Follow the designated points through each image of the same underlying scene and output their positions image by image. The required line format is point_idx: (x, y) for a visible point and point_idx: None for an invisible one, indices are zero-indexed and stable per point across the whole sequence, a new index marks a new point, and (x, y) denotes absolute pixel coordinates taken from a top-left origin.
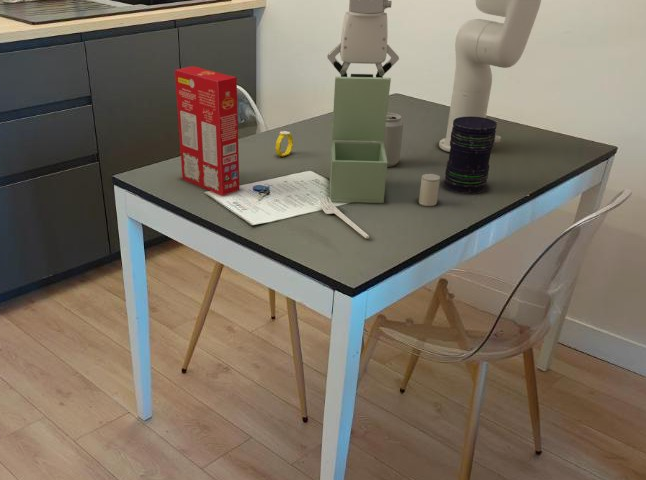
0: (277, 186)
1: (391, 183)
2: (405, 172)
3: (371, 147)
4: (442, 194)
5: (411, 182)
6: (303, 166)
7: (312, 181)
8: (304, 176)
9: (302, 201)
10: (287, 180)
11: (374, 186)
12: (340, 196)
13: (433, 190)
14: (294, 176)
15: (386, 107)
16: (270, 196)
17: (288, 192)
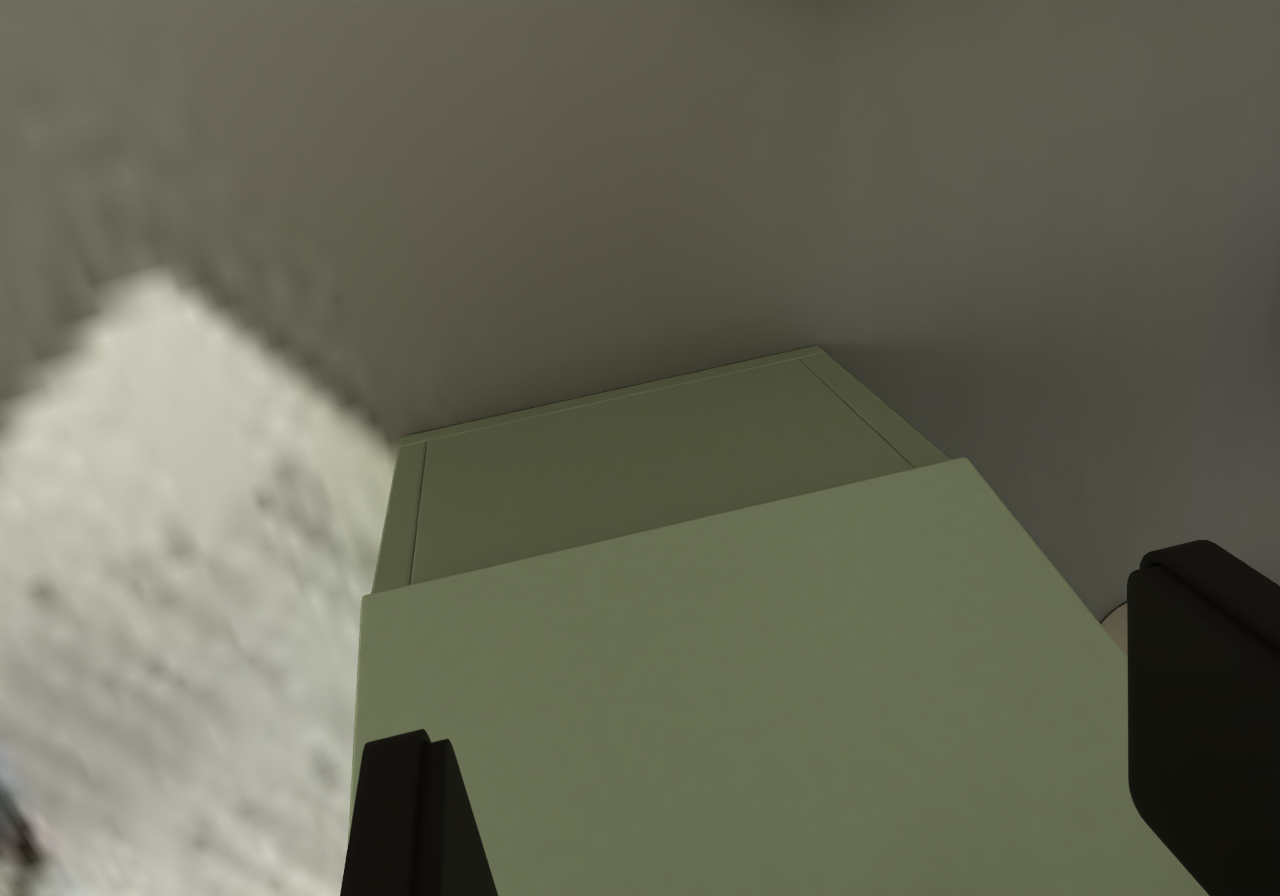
0: (26, 703)
1: (910, 370)
2: (1030, 61)
3: None
4: (1259, 475)
5: (1066, 301)
6: (31, 161)
7: (267, 519)
8: (154, 428)
9: (327, 881)
10: (46, 561)
11: None
12: None
13: None
14: (65, 454)
15: None
16: (68, 881)
17: (166, 779)
